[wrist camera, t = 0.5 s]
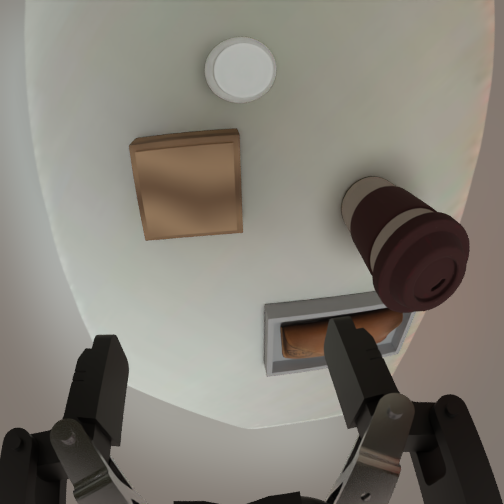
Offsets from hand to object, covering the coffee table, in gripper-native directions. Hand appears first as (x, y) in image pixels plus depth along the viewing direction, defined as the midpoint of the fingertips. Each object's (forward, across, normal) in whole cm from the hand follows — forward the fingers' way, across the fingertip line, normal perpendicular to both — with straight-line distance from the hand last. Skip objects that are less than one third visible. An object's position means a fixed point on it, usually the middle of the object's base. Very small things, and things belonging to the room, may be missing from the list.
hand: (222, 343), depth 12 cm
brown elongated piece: (+23, -17, +27) cm, 39 cm away
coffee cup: (+24, -18, +7) cm, 30 cm away
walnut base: (+24, +2, +3) cm, 24 cm away
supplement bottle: (+24, -2, -8) cm, 26 cm away
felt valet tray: (+23, -17, +27) cm, 39 cm away
